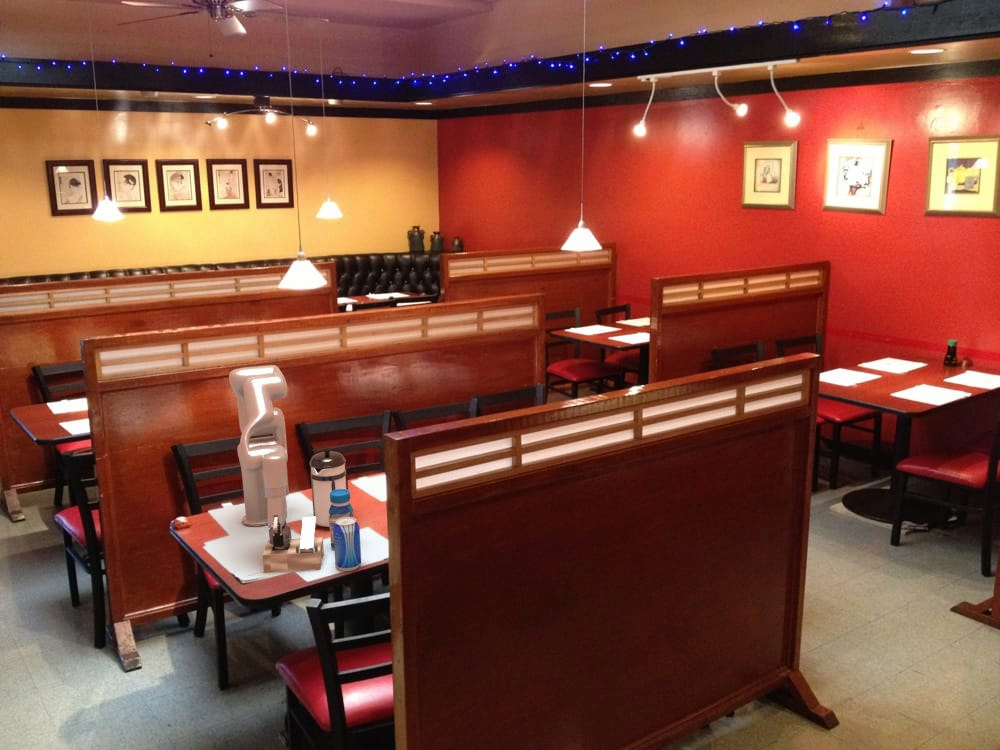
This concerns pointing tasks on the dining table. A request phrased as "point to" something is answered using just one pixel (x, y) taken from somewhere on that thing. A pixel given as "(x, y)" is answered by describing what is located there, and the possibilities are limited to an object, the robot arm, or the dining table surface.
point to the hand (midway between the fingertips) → (280, 541)
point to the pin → (286, 537)
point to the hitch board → (293, 557)
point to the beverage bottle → (339, 508)
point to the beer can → (347, 544)
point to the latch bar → (307, 534)
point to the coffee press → (326, 482)
